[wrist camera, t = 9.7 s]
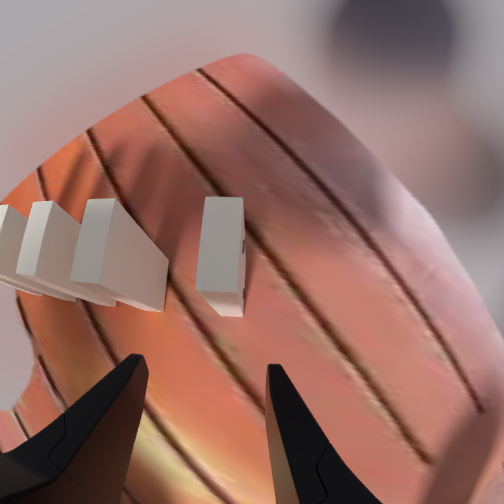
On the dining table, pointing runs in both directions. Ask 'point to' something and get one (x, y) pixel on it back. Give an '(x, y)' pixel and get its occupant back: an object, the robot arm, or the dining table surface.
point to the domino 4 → (222, 256)
